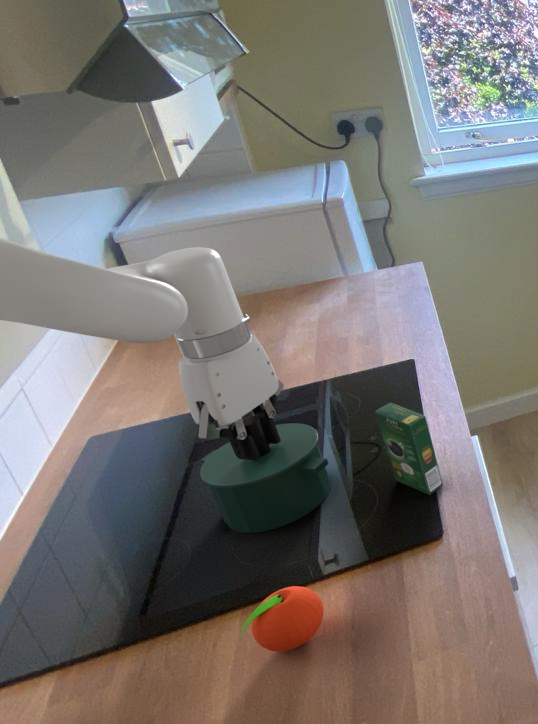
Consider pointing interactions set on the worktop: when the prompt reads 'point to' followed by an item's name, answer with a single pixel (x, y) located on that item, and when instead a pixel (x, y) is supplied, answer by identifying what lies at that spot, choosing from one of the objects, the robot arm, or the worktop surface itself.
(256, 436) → the lid
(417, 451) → the coffee box
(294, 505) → the pot
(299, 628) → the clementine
